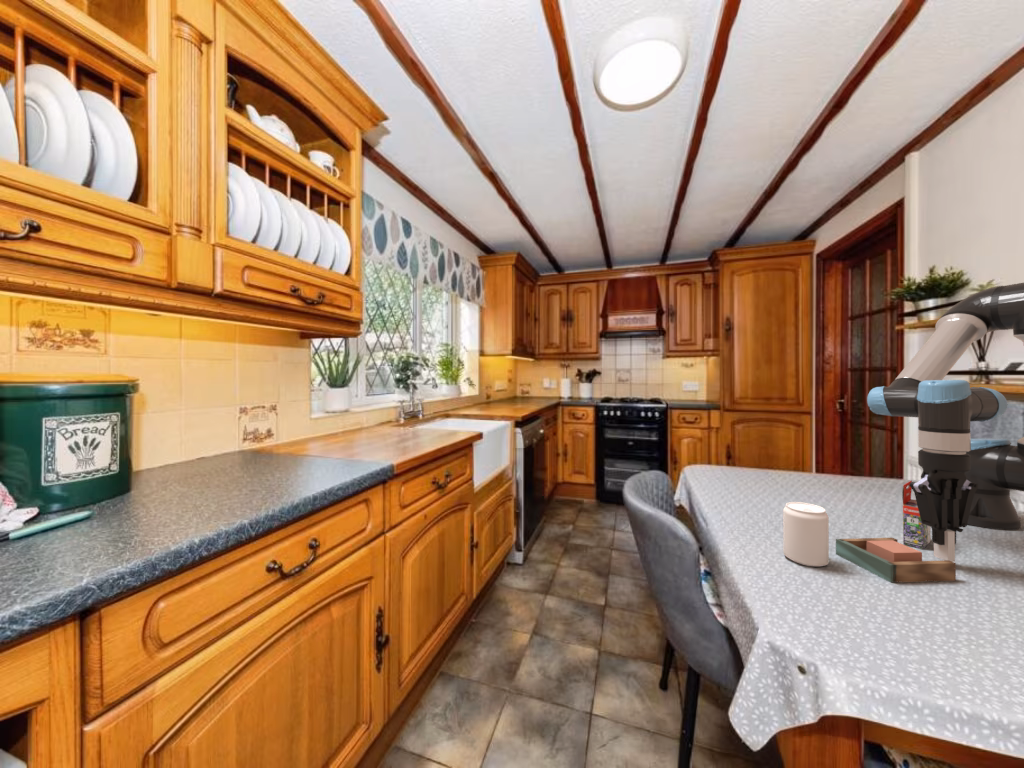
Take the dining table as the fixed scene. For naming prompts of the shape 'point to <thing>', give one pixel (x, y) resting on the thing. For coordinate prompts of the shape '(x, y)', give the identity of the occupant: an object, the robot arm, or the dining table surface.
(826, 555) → the beverage can
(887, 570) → the bay
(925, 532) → the ink box
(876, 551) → the terracotta brick
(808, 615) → the dining table surface
